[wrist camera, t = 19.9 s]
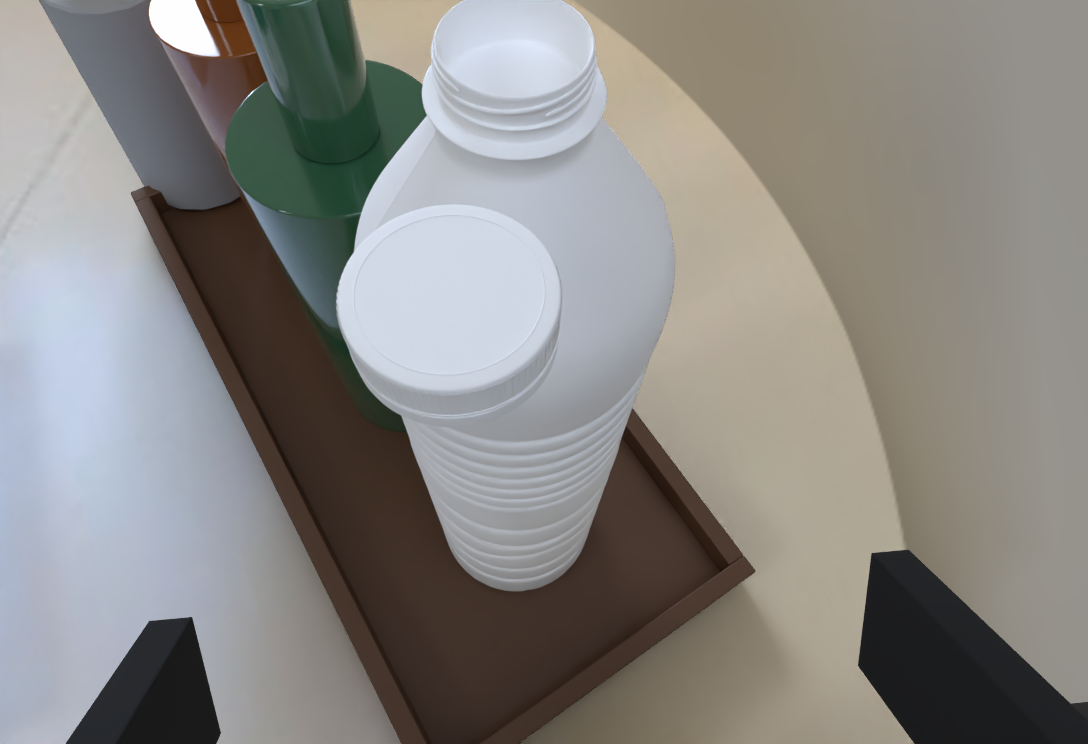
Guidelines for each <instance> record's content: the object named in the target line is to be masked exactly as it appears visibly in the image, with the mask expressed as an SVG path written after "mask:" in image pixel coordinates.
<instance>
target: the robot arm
mask: <svg viewBox="0 0 1088 744" xmlns="http://www.w3.org/2000/svg"><path fill="white" fill-rule="evenodd" d="M858 666H859V668H860V669H861V670H862V672H863V673H864V675H865V676H866V677H867V679H868V680H869V681H870V683H871V684H872V686H873V687H874V688H875V690H876V691H877V693H878V694H879V695H880V697H881V698H882V699H883V701H884V702H885V704H886V705H887V706H888V708H889V709H890V711H891V712H892V713H893V715H894V716H895V717H896V719H897V720H898V722H899V723H900V724H901V726H902V727H903V728H904V730H905V731H906V733H907V734H908V735H909V737H910V738H911V740H912V741H913V742H914V744H1088V702H1083V703H1074V704H1070V703H1069V702H1068V701H1067V700H1066V699H1065V698H1064V697H1063V696H1062V695H1061V694H1060V693H1059V692H1058V691H1056V690H1055V689H1054V688H1053V687H1052V686H1051V685H1050V684H1049V683H1048V682H1047V681H1046V680H1045V679H1044V678H1043V677H1042V676H1041V675H1040V674H1039V673H1038V672H1037V671H1035V670H1034V669H1033V668H1032V667H1031V666H1030V665H1029V664H1028V663H1027V662H1026V661H1025V660H1024V659H1023V658H1022V657H1021V656H1019V654H1018V653H1017V652H1016V651H1014V650H1013V649H1012V648H1011V647H1010V646H1009V645H1008V644H1007V643H1006V642H1005V641H1004V640H1003V639H1002V638H1001V637H1000V636H999V635H998V634H996V632H994V631H993V630H992V629H991V628H990V627H989V626H988V625H987V624H986V623H985V622H984V621H983V620H982V619H981V618H980V617H979V616H978V615H977V614H976V613H974V612H973V611H972V610H971V609H970V608H969V607H968V606H967V605H966V604H965V603H964V602H963V601H962V600H961V599H960V598H959V597H958V596H957V595H956V594H954V593H953V592H952V591H951V590H950V589H949V588H948V587H947V586H946V585H945V584H944V583H943V582H942V581H941V580H940V579H938V577H937V576H936V575H935V574H933V573H932V572H931V571H930V570H929V569H928V568H927V567H926V566H925V565H924V564H923V563H922V562H921V561H920V560H919V559H918V558H917V557H915V555H913V554H912V553H911V552H910V551H909V550H901V551H890V552H880V553H872V555H871V563H870V571H869V580H868V588H867V596H866V604H865V613H864V621H863V629H862V638H861V646H860V654H859V662H858ZM220 734H221V732H220V728H219V724H218V720H217V716H216V712H215V708H214V704H213V700H212V696H211V691H210V687H209V683H208V679H207V675H206V671H205V667H204V663H203V659H202V655H201V651H200V647H199V643H198V639H197V635H196V631H195V627H194V623H193V619H192V617H189V618H178V619H167V620H157V621H149V622H148V624H147V625H146V627H145V628H144V630H143V631H142V633H141V634H140V636H139V637H138V639H137V640H136V641H135V643H134V644H133V646H132V647H131V649H130V650H129V652H128V653H127V655H126V656H125V658H124V659H123V661H122V662H121V663H120V665H119V666H118V668H117V669H116V671H115V672H114V674H113V675H112V677H111V678H110V680H109V681H108V682H107V684H106V685H105V687H104V688H103V690H102V691H101V693H100V694H99V696H98V697H97V699H96V700H95V702H94V703H93V704H92V706H91V707H90V709H89V710H88V712H87V713H86V715H85V716H84V718H83V719H82V721H81V722H80V723H79V725H78V726H77V728H76V729H75V731H74V732H73V734H72V735H71V737H70V738H69V740H68V741H67V742H66V744H216V743H217V741H218V739H219V736H220Z"/></svg>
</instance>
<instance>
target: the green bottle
mask: <svg viewBox="0 0 1088 744" xmlns="http://www.w3.org/2000/svg"><path fill="white" fill-rule="evenodd" d="M236 2H237V5H238V7H239V10H240V12H241V15H242V17H243V20H244V23H245V25H246V28H247V30H248V33H249V35H250V38H251V40H252V43H253V45H254V48H255V51H256V53H257V56H258V58H259V61H260V63H261V66H262V68H263V71H264V74H265V76H266V79H267V81H265V82H264V83H262V84H261V85H260V86H259V87H257V88H256V89H255V90H253V91H252V92H251V93H250V94H249V95H248V96H247V97H246V98H245V99H244V101H243V102H242V103H241V104H240V106H239V107H238V108H237V110H236V112H235V113H234V115H233V117H232V119H231V121H230V124H229V126H228V129H227V134H226V139H225V155H226V161H227V164H228V167H229V170H230V173H231V174H232V176H233V178H234V180H235V182H236V184H237V186H238V188H239V190H240V192H241V193H242V195H243V197H244V199H245V201H246V203H247V205H248V207H249V209H250V211H251V213H252V214H253V216H254V218H255V220H256V222H257V224H258V226H259V228H260V230H261V232H262V233H263V235H264V237H265V239H266V241H267V243H268V245H269V247H270V249H271V251H272V253H273V254H274V256H275V258H276V260H277V262H278V264H279V266H280V268H281V270H282V272H283V274H284V275H285V277H286V279H287V281H288V283H289V285H290V287H291V289H292V291H293V293H294V294H295V296H296V298H297V300H298V302H299V304H300V306H301V308H302V310H303V312H304V314H305V315H306V317H307V319H308V321H309V323H310V325H311V327H312V329H313V331H314V333H315V334H316V336H317V338H318V340H319V342H320V344H321V346H322V348H323V350H324V352H325V354H326V355H327V357H328V359H329V361H330V363H331V365H332V367H333V369H334V371H335V373H336V374H337V376H338V378H339V380H340V382H341V384H342V386H343V388H344V390H345V392H346V394H347V395H348V397H349V399H350V401H351V403H352V405H353V406H354V408H355V409H356V410H357V412H358V413H359V414H360V415H361V416H362V417H363V418H365V419H366V420H367V421H369V422H370V423H372V424H374V425H376V426H378V427H380V428H383V429H386V430H390V431H395V432H407V430H406V427H405V425H404V422H403V419H402V416H401V415H399V414H397V413H396V412H394V411H393V410H391V409H389V408H388V407H387V406H385V405H384V404H383V403H382V402H381V401H380V400H378V399H377V398H376V397H375V396H374V394H373V393H372V392H371V391H370V390H369V389H368V387H367V386H366V384H365V383H364V381H363V380H362V378H361V376H360V374H359V372H358V370H357V368H356V366H355V364H354V362H353V360H352V357H351V355H350V352H349V349H348V347H347V344H346V342H345V340H344V338H343V335H342V333H341V330H340V327H339V326H340V325H339V323H340V322H339V323H338V320H339V319H338V317H337V314H338V312H337V310H336V306H337V303H336V299H337V296H336V295H337V293H338V286H339V280H341V275H342V273H343V271H344V268H345V267H346V265H347V262H348V261H349V259H350V257H351V256H352V254H353V253H354V246H355V239H356V233H357V228H358V223H359V220H360V216H361V213H362V210H363V207H364V204H365V202H366V199H367V197H368V195H369V193H370V191H371V189H372V187H373V185H374V184H375V182H376V180H377V179H378V177H379V176H380V174H381V173H382V171H383V170H384V169H385V167H386V166H387V164H388V163H389V162H390V161H391V159H392V158H393V157H394V155H395V154H396V153H397V152H398V150H399V149H400V148H401V147H402V145H403V144H404V143H405V142H406V140H407V139H408V138H409V137H410V136H411V134H412V133H413V132H414V131H415V129H416V128H417V127H418V126H419V125H420V123H421V122H422V121H423V120H424V118H425V117H426V116H427V114H426V112H425V109H424V106H423V101H422V84H421V83H420V82H419V81H417V80H416V79H415V78H413V77H412V76H410V75H409V74H407V73H405V72H403V71H401V70H399V69H397V68H394V67H392V66H389V65H386V64H383V63H379V62H375V61H370V60H365V59H364V55H363V51H362V46H361V42H360V38H359V34H358V29H357V25H356V21H355V16H354V12H353V8H352V3H351V0H236ZM336 312H337V313H336Z"/></svg>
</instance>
